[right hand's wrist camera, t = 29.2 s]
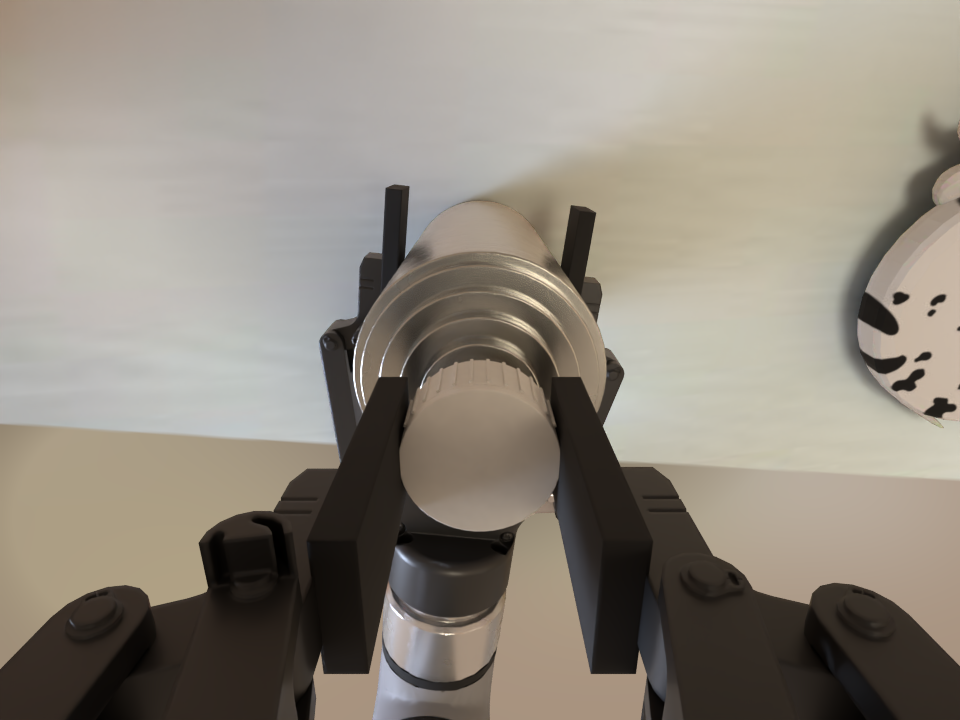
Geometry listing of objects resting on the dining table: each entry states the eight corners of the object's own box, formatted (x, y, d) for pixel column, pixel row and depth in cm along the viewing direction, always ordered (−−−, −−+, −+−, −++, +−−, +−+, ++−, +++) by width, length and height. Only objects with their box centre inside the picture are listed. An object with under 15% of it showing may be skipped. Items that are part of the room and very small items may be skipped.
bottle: (478, 170, 33) (475, 206, 12) (573, 266, 35) (714, 445, 14) (387, 270, 35) (246, 452, 14) (481, 355, 37) (483, 629, 16)
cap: (419, 343, 14) (410, 371, 12) (571, 373, 14) (584, 406, 13) (395, 475, 15) (383, 518, 14) (533, 500, 16) (540, 546, 14)
